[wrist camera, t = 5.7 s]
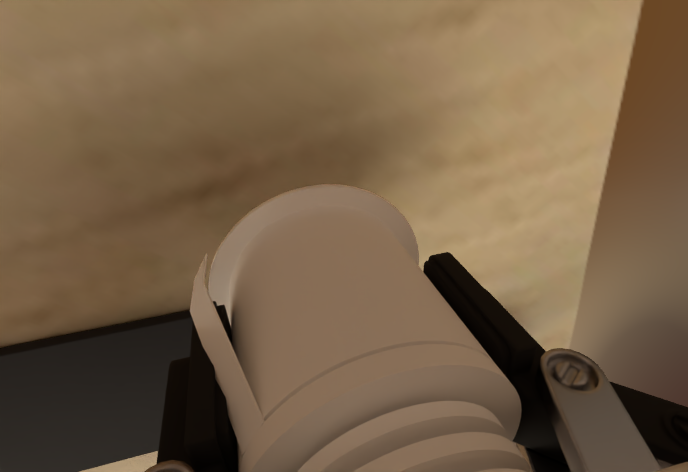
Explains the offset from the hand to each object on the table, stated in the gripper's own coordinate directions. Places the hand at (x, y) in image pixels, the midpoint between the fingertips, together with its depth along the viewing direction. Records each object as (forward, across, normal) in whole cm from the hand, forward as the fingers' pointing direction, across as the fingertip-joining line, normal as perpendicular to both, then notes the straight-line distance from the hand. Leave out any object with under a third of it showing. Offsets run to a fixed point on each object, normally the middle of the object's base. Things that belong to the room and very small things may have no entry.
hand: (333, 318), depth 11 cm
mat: (+8, +7, +10) cm, 15 cm away
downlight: (+2, 0, 0) cm, 2 cm away
